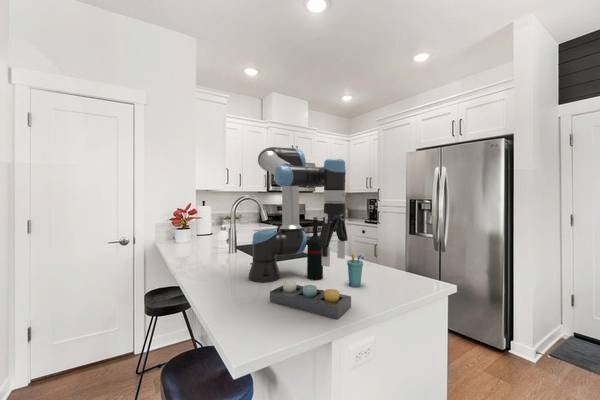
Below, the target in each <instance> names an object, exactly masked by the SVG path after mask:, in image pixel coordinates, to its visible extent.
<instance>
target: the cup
mask: <svg viewBox="0 0 600 400" xmlns="http://www.w3.org/2000/svg"><path fill="white" fill-rule="evenodd" d="M360 258H361V259H362V260H364V259H365V258H364V256H362V254H359V255H358V256H357V259H355V253H354V252H352V253H351V259H349V260H346V264H347V275H348V285H349V286H350V287H352V288H353V287H354V288H359V287H361V284H362V283H361V282H362V274H363V273H362V272H363V266H364V261H362V260H360Z"/></svg>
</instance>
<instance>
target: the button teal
mask: <svg viewBox="0 0 600 400" xmlns="http://www.w3.org/2000/svg"><path fill="white" fill-rule="evenodd" d="M302 286H303V296H306V297H310V298H314V297H316V296H317V289H318V288H317V287H318V286H316V285H313V284H306V285H305V284H304V285H302Z"/></svg>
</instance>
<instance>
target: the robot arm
mask: <svg viewBox="0 0 600 400" xmlns="http://www.w3.org/2000/svg"><path fill="white" fill-rule="evenodd" d="M257 157H258V158H257V163H258V165H259V167H260V168H261V169H263V170H264V171H265V172H270V173H271V174H272V175H274V181H275V184H276V185H277V186H280V187H281V205H282V206H281V208H282V209H281V210H282V212H281V213H282V214H281V218H282V221H281V222H282V225H281V226H280V227H279V231H277V229H276V228H270V229H269V228H267V229H262V230H258V231H255V232H254V233H253V234H252V241H251V242H252V263H251V267H250V270H249V272H248V279H249V280H250V281H251V282H256V283H270V282H274V281H277V280H279V279H281V272H280V270H279V269H280V268H279V265H278V262H277V256H288V255H290V256H291V255H295V256H296V255H299V254H302V253H304V252H305V249H306V247H307V244H308V238H307V234H306V232H305V231H304V230H303V227H302V226H301V225H300V195H299V194H300V191H299V190H300V189H299V187H310V188H311V187H312V188H313V187H315V188H322V187H323V202H324V203H323V213H324V214H327V216H324V217H322V226H321V230H320V234H319V237H320V238H319V243H318V245H319V246H320V247H322V266H323V267H329V268H330V266H331V247H330V243H331V240H332V237H333V234H334V231H335V233H336V236H337V259H343V260H345V259H346V242H348V238H349V237H348V233H347V228H346V227H347V226H346V222H345V221H346V220H345V219H346V218H345V213H346V204H345V203H344V202H346V196H347V193H346V172H347V169H346V161H345V160H344V159H342V158H327V159H325V160H324V163H323V166H320V167H319V166H306V157H305V153H304V152H303V150H302V149H299V148H294V147H291V148H290V147H277V146H276V147H275V146H272V147H271V146H269V147H266V148H264V149H263V150H262V151H261V152H260V153H259V155H258V156H257Z"/></svg>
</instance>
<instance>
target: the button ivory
mask: <svg viewBox="0 0 600 400" xmlns="http://www.w3.org/2000/svg"><path fill="white" fill-rule="evenodd" d="M282 285H283V291H284V292H288V293H294V292H295V291H296V285H297V282H296V281H293V280H286V281H283V282H282Z"/></svg>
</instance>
